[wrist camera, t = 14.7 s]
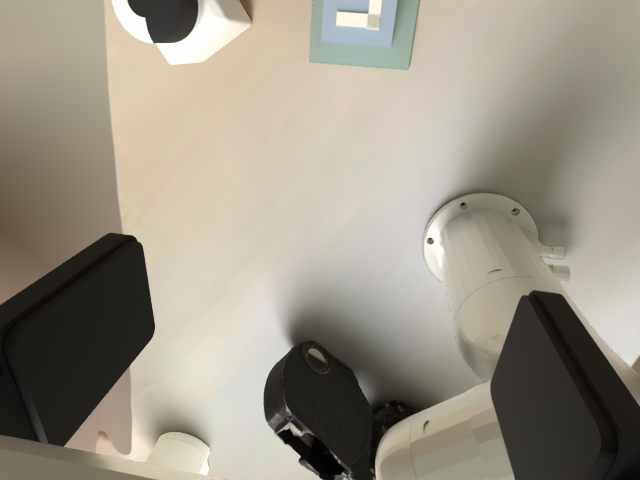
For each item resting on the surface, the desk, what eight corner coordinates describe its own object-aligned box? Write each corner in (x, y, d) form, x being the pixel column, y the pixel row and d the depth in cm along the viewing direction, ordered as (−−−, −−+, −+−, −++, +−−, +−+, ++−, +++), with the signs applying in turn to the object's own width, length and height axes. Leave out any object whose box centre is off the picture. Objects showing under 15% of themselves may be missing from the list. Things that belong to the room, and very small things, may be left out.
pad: (426, -52, 36) (426, -53, 35) (407, 69, 40) (408, 70, 39) (316, -57, 37) (315, -58, 36) (310, 62, 41) (309, 62, 41)
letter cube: (400, -27, 36) (402, -40, 31) (390, 46, 39) (391, 46, 33) (335, -30, 37) (325, -44, 31) (330, 42, 39) (320, 41, 34)
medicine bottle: (212, -48, 38) (144, -84, 28) (253, 24, 40) (205, 16, 30) (160, -2, 41) (78, -20, 30) (201, 63, 43) (140, 69, 32)
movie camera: (493, 428, 58) (520, 566, 43) (402, 468, 66) (397, 596, 51) (341, 290, 53) (309, 390, 38) (263, 353, 62) (212, 455, 46)
